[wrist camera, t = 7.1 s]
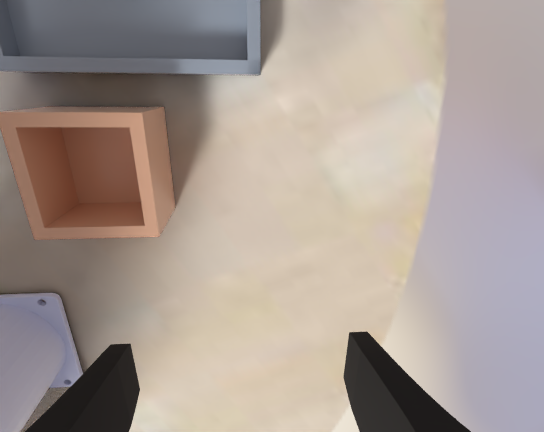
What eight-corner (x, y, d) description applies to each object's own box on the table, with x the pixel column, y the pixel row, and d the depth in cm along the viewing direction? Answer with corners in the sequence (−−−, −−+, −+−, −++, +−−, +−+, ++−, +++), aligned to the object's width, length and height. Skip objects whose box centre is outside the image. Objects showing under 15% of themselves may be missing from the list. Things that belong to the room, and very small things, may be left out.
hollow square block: (75, 209, 19) (34, 239, 15) (50, 106, 17) (-5, 111, 13) (175, 207, 19) (159, 236, 16) (163, 106, 17) (142, 112, 13)
